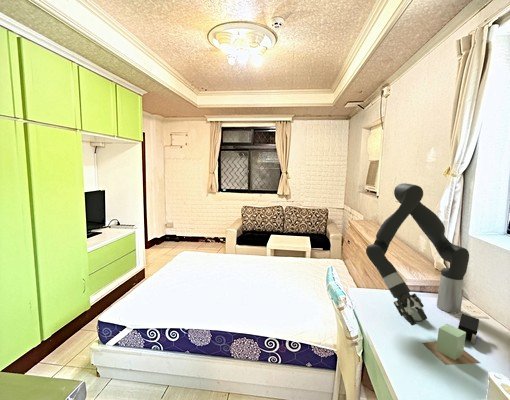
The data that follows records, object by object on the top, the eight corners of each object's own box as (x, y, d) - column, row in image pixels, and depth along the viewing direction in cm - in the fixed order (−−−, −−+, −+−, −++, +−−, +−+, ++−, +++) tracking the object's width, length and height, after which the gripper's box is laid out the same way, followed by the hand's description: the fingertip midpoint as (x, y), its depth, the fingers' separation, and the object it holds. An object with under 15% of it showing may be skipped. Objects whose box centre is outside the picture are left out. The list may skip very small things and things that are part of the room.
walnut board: (452, 343, 108) (453, 341, 108) (480, 365, 96) (480, 362, 96) (420, 344, 107) (421, 342, 107) (445, 367, 95) (445, 364, 95)
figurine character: (475, 353, 105) (477, 333, 116) (478, 337, 103) (480, 317, 114) (454, 345, 109) (458, 326, 120) (456, 329, 108) (460, 311, 119)
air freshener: (426, 325, 120) (428, 304, 119) (406, 322, 122) (408, 302, 121) (416, 312, 131) (418, 293, 130) (398, 310, 133) (400, 291, 131)
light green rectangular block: (443, 344, 106) (446, 323, 105) (462, 354, 100) (466, 332, 99) (435, 349, 103) (438, 328, 101) (454, 360, 97) (458, 337, 96)
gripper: (393, 284, 112) (418, 324, 104) (411, 278, 120) (436, 314, 112) (380, 291, 118) (403, 329, 109) (398, 284, 125) (421, 320, 117)
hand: (419, 322), depth 110 cm, fingers open, 8 cm apart
